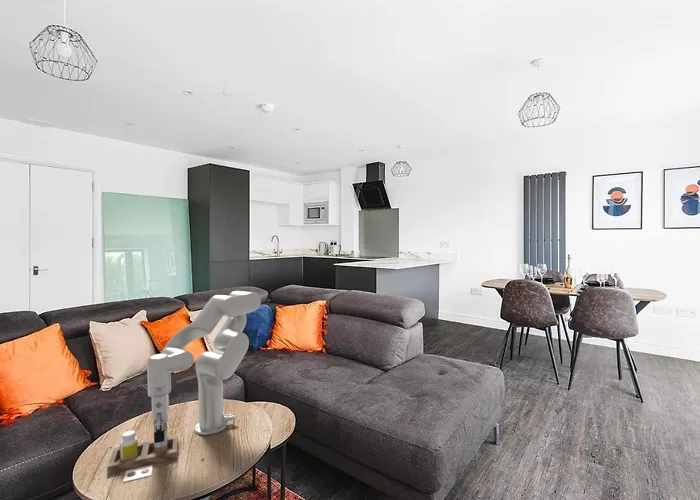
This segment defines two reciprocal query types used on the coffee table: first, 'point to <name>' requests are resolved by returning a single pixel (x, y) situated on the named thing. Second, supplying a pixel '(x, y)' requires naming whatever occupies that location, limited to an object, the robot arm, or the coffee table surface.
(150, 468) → the card
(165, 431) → the sprinkles bottle
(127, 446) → the supplement bottle
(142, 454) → the bottle rack
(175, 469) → the coffee table surface
